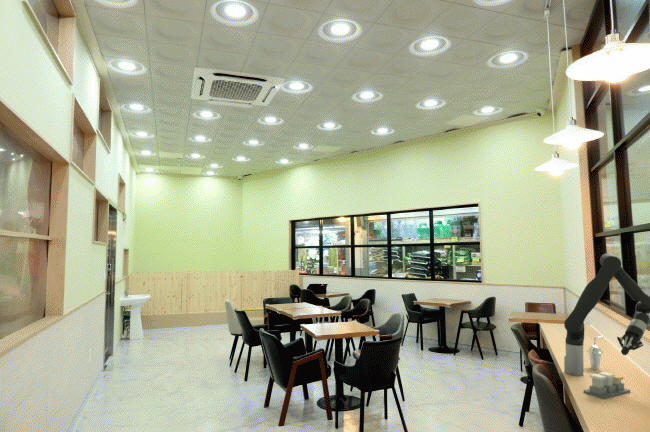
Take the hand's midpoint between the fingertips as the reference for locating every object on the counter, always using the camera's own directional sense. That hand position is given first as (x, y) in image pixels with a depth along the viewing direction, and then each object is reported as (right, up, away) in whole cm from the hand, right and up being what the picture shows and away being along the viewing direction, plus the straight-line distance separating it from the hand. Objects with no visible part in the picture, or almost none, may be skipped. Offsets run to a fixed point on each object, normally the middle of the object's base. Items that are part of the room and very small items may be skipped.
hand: (623, 354), depth 233 cm
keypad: (-14, -17, -8) cm, 24 cm away
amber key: (-7, -16, -4) cm, 18 cm away
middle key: (-14, -14, -8) cm, 21 cm away
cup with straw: (+8, -21, +37) cm, 43 cm away
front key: (-21, -13, -12) cm, 28 cm away
